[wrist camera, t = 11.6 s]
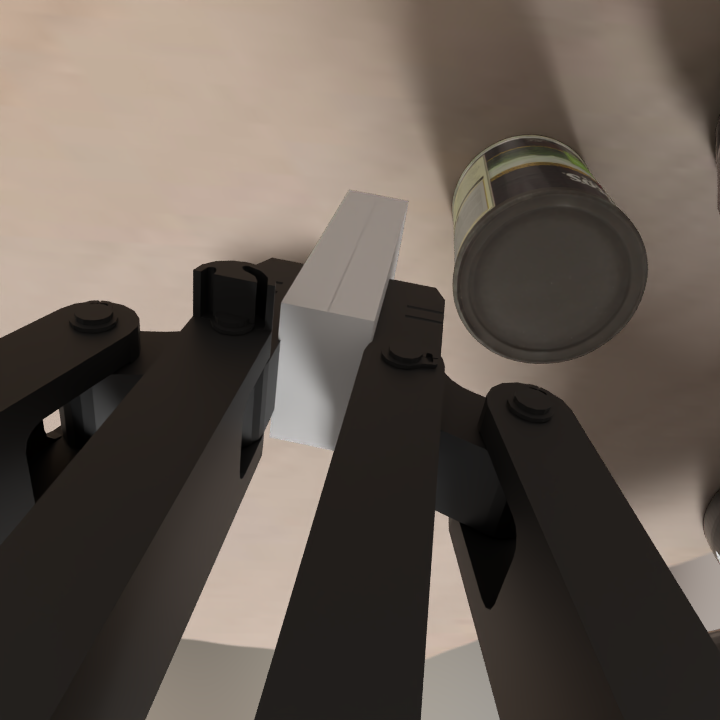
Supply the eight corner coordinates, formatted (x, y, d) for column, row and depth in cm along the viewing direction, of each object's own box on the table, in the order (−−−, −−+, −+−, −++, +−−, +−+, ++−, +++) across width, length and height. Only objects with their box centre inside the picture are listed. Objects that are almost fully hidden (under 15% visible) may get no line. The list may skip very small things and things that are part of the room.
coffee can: (545, 101, 42) (586, 147, 30) (620, 219, 46) (683, 303, 34) (422, 193, 46) (415, 266, 34) (499, 295, 50) (517, 393, 38)
